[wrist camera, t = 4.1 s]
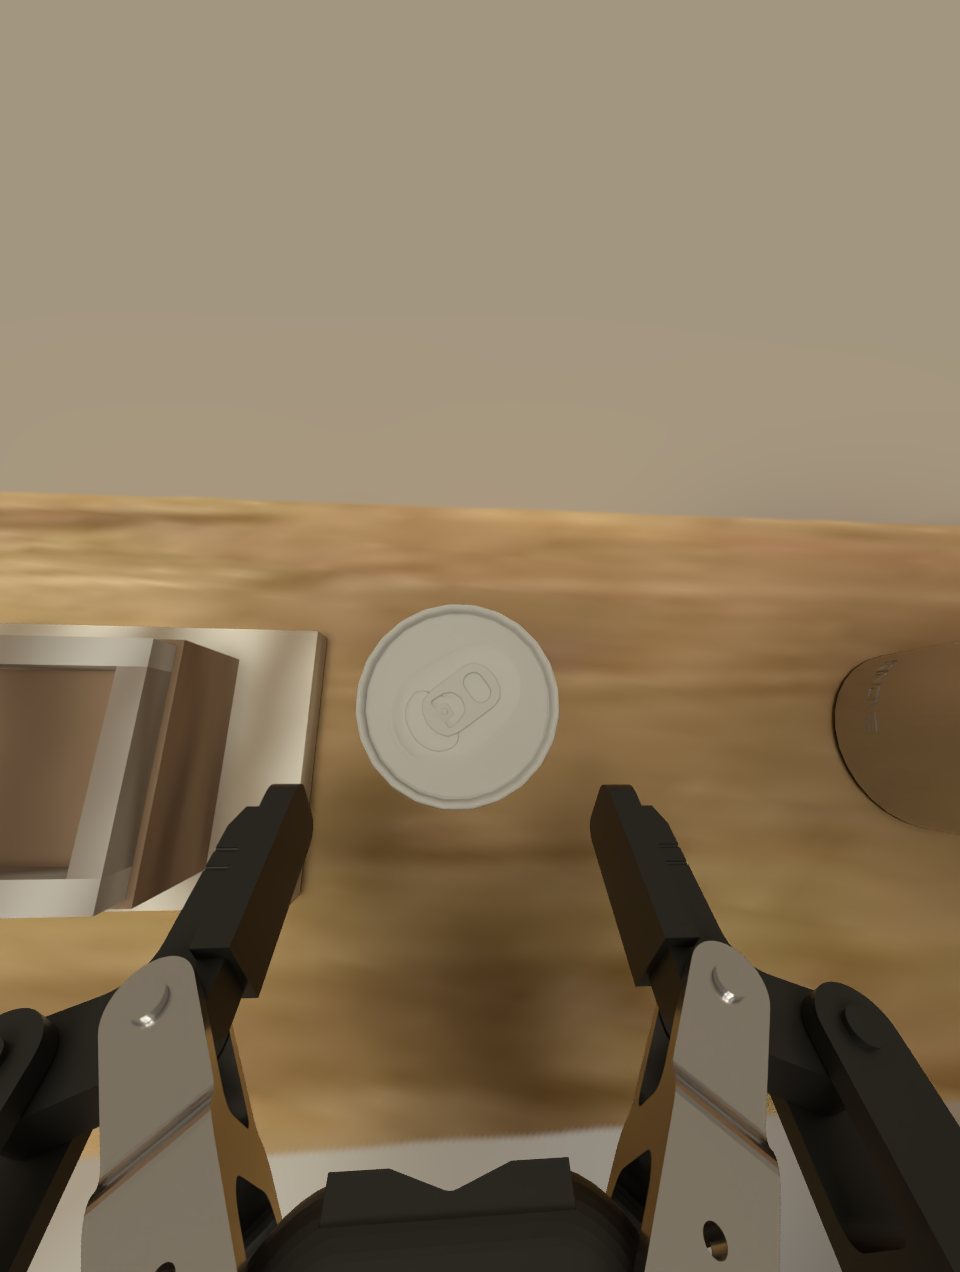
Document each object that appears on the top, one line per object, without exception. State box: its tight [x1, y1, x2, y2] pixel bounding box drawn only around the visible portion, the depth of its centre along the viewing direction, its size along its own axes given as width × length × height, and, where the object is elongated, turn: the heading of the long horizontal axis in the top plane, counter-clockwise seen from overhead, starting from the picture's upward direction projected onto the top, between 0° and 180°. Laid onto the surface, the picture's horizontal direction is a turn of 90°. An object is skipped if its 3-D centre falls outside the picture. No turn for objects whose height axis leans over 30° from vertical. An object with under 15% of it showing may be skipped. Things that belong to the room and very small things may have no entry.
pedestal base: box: [0, 623, 327, 918], centre depth 16 cm, size 16×12×7 cm
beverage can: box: [355, 604, 559, 810], centre depth 15 cm, size 5×5×12 cm
